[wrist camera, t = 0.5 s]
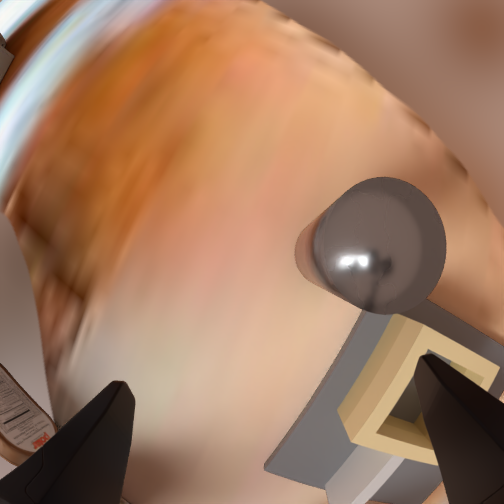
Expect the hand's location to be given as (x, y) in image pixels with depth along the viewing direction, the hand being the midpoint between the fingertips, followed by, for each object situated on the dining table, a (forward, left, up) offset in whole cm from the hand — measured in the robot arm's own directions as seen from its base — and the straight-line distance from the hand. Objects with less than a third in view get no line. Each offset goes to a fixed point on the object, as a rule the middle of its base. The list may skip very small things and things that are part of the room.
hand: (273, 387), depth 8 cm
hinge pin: (+6, -2, -15) cm, 16 cm away
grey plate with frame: (-3, -16, -15) cm, 22 cm away
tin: (-22, +18, -15) cm, 32 cm away
